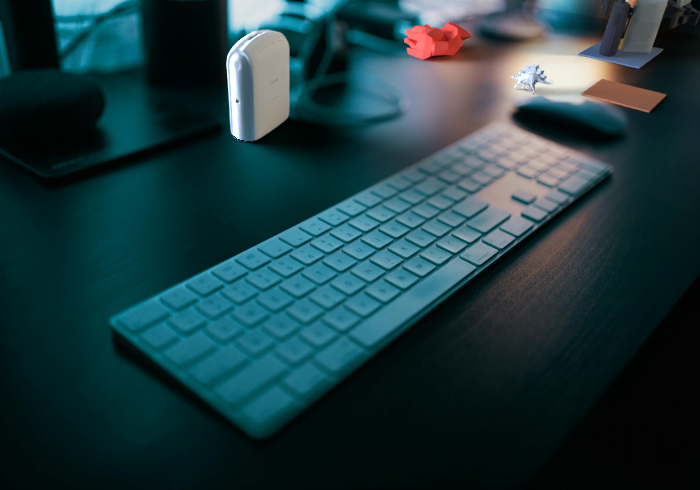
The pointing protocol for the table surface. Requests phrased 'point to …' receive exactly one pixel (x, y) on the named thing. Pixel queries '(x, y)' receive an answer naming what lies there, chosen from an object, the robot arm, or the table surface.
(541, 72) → the stegosaurus
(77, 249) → the table surface
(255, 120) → the photo printer
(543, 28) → the table surface
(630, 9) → the two-way radio
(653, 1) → the small box
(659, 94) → the terracotta mat
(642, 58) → the slate mat
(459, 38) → the animal figurine
